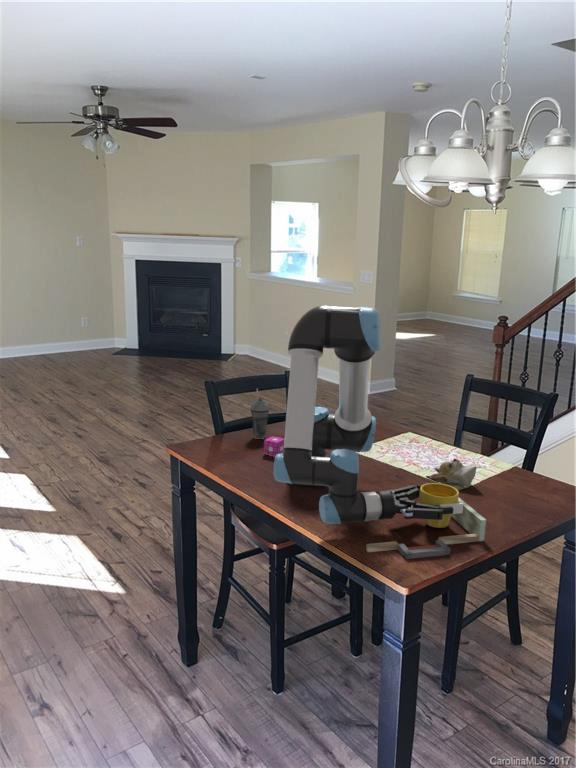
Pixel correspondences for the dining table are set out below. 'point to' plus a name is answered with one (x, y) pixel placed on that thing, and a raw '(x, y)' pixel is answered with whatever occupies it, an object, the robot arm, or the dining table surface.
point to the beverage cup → (259, 417)
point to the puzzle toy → (274, 445)
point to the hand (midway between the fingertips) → (452, 499)
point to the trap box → (466, 519)
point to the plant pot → (438, 500)
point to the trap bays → (424, 550)
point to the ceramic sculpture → (454, 473)
